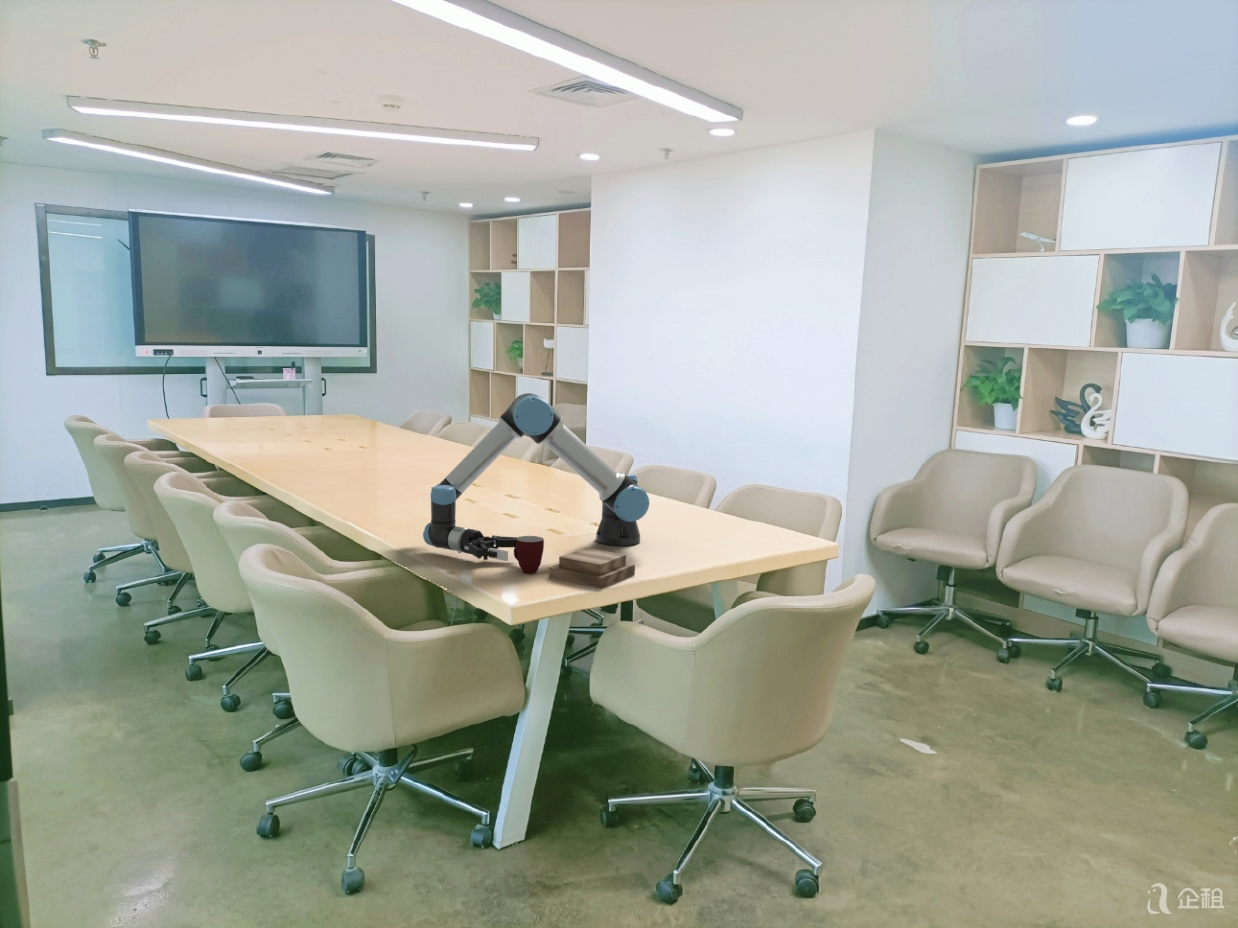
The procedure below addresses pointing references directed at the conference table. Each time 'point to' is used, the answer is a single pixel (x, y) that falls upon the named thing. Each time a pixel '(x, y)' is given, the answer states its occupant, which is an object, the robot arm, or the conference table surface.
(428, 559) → the conference table surface
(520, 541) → the mug
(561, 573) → the stand
